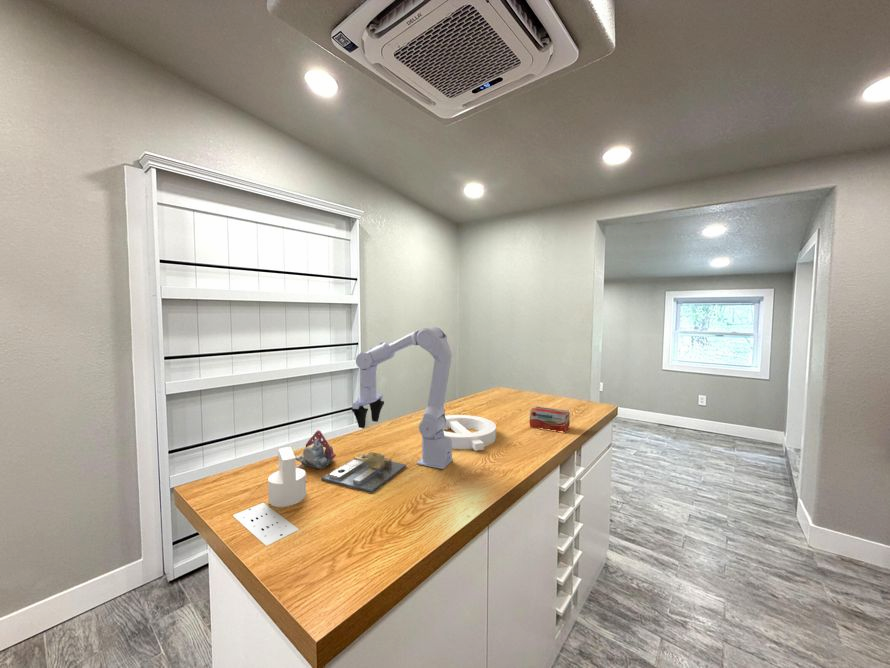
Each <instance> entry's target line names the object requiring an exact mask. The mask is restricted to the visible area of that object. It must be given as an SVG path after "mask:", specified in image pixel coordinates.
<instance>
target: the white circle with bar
mask: <svg viewBox="0 0 890 668" xmlns="http://www.w3.org/2000/svg"><path fill="white" fill-rule="evenodd" d="M445 417H446V426H445V427H444V428H443V431H444V435H445V436H446V437H449V438H451V440H452V450H474V451H476V452H477V451H482V450H485V448H484V447H488V446H490V445H491V443H492V444H493V443H494V442H495V441H496V440H497V425H496V423H495V422H493V421H492V420H490V419H487V418H485V417H482V416H476V415H468V414H450V415H446V414H445ZM450 428H451V430H452V431H453V432H451V431H445V429H446V430H450ZM469 428H471V429H470V430H474V429H475V432H471V431H470V430H469ZM477 430H478V431H477ZM495 439H496V440H495ZM489 444H490V445H489Z"/></svg>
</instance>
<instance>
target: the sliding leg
mask: <svg viewBox="0 0 890 668" xmlns="http://www.w3.org/2000/svg"><path fill="white" fill-rule="evenodd" d="M366 455H367V459H364V458H359V457H358V456H355V457H353V459H354V460H358V461H362V462H367V466H368V467H372V468H377V469H382V468H383V467H384V458H385V454H382V453H377V452H373V451H370V452H369V453H367V454H366Z"/></svg>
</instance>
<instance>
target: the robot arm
mask: <svg viewBox="0 0 890 668" xmlns="http://www.w3.org/2000/svg"><path fill="white" fill-rule="evenodd" d="M411 346H419V347H420V348H422V349H423V350H425V351H426V352H428V353H429V354H430V355H431V356H432V358H433V359H434V360H433V361H434V362H433V363H434V364H433V369H432V373H431V381H430V388H429V396H428V400H427V401H428V402H427V407H426V409H425V411H424V413H423V416H422V420H421V421H420V422H419V425H418V430H419V433H420V435H421V459H419V460H418V461H417V462H416V464H417V465H421V466H426V467H431V468H435V469H439V470H444V469H445V468H446V467H447V466H448V465H450V464H451V462H452V461H453V449H452V440H451V438H449V437H446V436H445V435H444V431H445V430H443V428H444V427H445V426H446V417H445V416H446V409H445V400H446V393H447V388H448V381H449V375H450V368H451V362H452V350H451V348H450V345H449V342H448V336H447V334H446V333H445V332H444V331H443V330H442V329H441V328H439V327H437V326H434V327H431V328H428V327H427V328H426V327H424V328H422V329H420V330H415V331H413V332H410V333H408V334H407V335H405V336H403V337H401V338H399V339H398V340H395V341H393V342H391V343H390V342H385V341H381V342H379V343H378V345H377V346H375V347H370V348H368V351H364V352H363V351H362V352H360V353H358V354H357V356H356V358H355V364H356V366H357V368H358V369H359V370H358V372H359V397H357V400H355V401H353V402H352V405H351V411H352V413H353V415H354V416H355V420H356V423H357V427H358V428H360V429H365V428H366V422H367V421H366V417H367V414H368V411H369V408H370V413H371V421H372V422H374V423H375V422H376V423H377V422H379V419H380V416H381V415H380V414H381V411H382V408H383V406H384V405H385V401H384V397H383V396H384V394H381V393H377V366H378V365H380V364H382V363H383V362H385V361H388V360H390V359H392V358H394V357H395V354H396V352H399V351H401V350H403V349H405V348H408V347H411ZM368 405H369V408H367V407H366V408H365V406H368Z"/></svg>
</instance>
